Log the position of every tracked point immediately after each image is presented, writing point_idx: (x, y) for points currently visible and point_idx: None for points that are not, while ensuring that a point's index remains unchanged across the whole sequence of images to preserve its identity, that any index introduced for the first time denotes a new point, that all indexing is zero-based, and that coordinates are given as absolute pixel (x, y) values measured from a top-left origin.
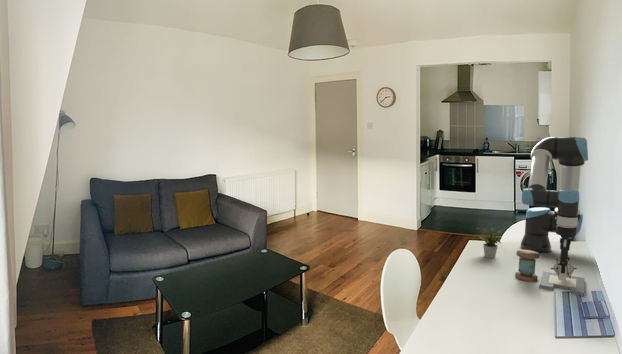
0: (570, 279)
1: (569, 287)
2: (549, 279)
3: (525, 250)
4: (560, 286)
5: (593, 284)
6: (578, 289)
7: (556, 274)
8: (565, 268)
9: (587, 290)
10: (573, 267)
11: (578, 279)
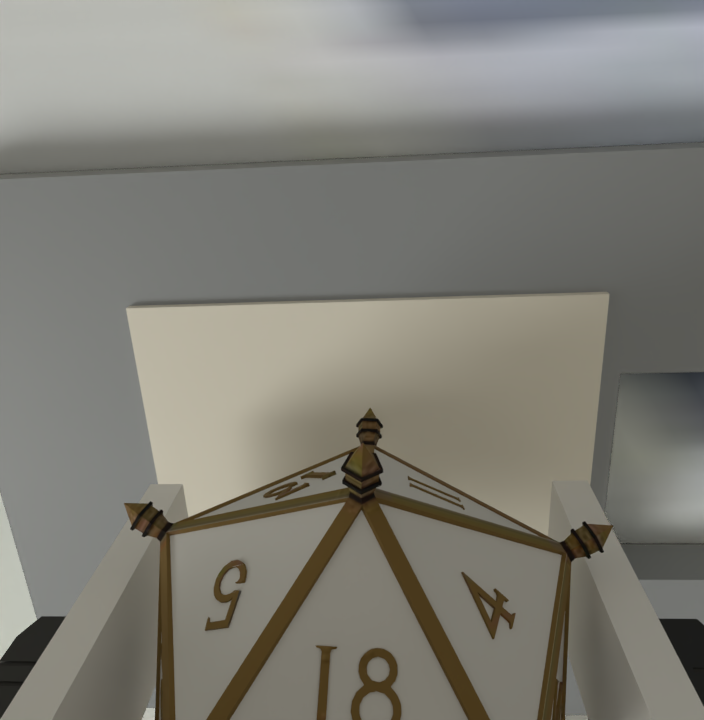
0: (208, 390)
1: (614, 379)
2: None
3: None
4: (599, 488)
5: (8, 15)
6: (680, 247)
7: (81, 567)
8: (687, 716)
9: (428, 100)
10: (359, 537)
11: (87, 273)
